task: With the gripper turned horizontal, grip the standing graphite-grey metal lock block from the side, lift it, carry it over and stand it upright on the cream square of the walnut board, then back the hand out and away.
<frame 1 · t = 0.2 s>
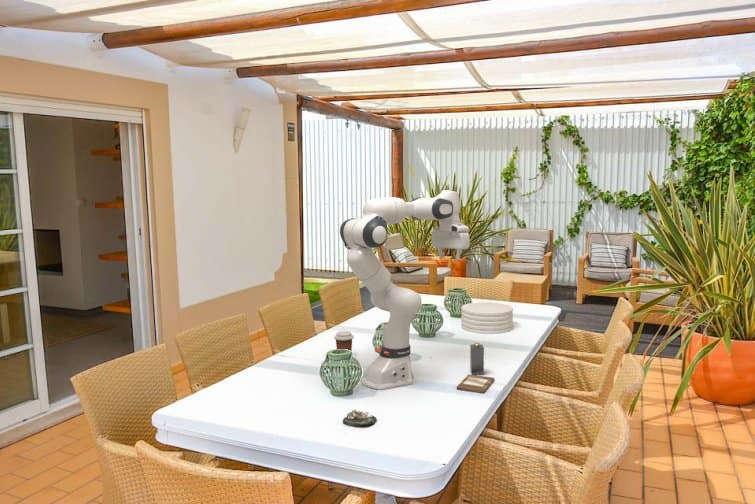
hand: (449, 258, 261), 48 cm above the table, tool pointing down, fingers open, 8 cm apart
lock block: (476, 373, 253), on the table
walnut board: (475, 385, 239), on the table
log: (360, 423, 205), on the table
coffee cup: (344, 358, 278), on the table
plate stack: (486, 328, 330), on the table
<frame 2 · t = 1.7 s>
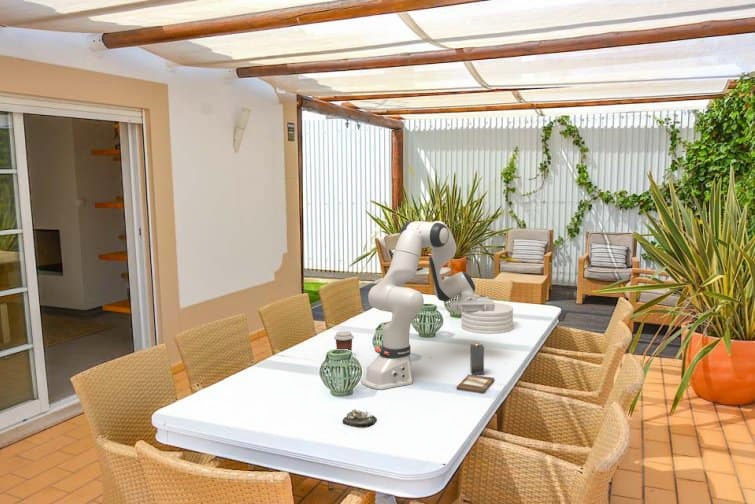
hand: (473, 309, 262), 25 cm above the table, tool horizontal, fingers open, 8 cm apart
nothing on the table moved.
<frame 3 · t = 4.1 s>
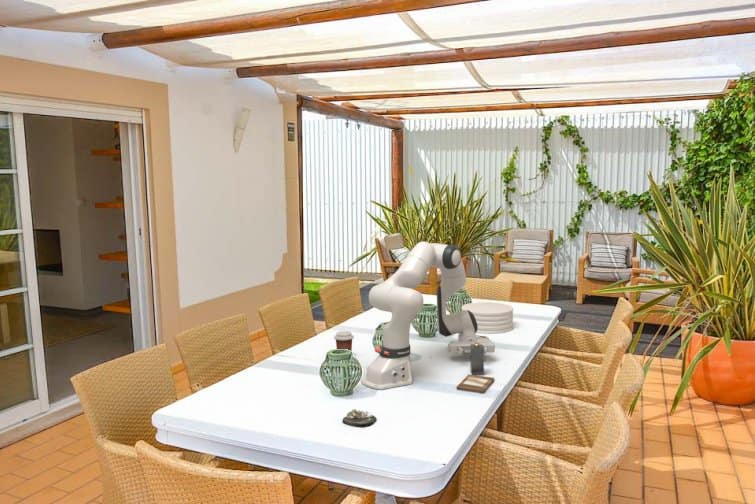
hand: (473, 352, 262), 6 cm above the table, tool horizontal, fingers open, 8 cm apart
nothing on the table moved.
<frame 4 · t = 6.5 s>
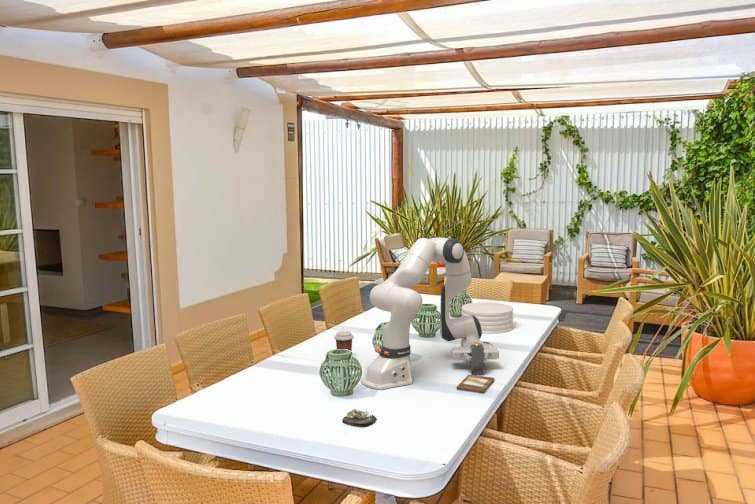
hand: (477, 359, 251), 7 cm above the table, tool horizontal, fingers closed on lock block, 5 cm apart
lock block: (476, 373, 253), on the table, touching gripper
everything else where it was.
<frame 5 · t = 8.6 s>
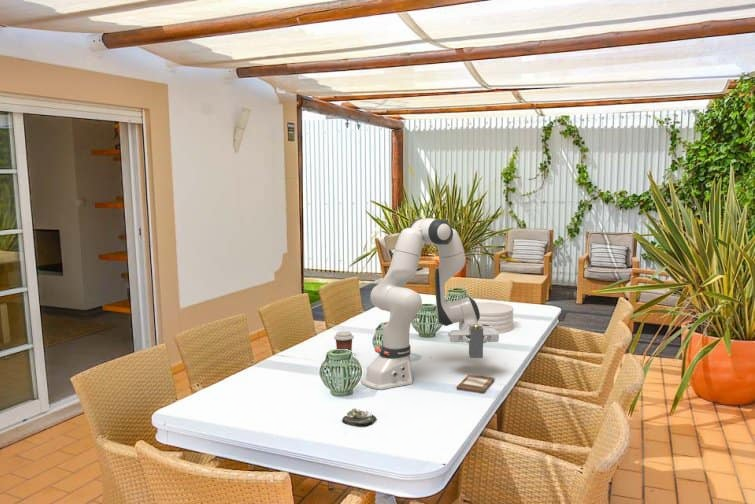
hand: (476, 341, 242), 17 cm above the table, tool horizontal, fingers closed on lock block, 5 cm apart
lock block: (475, 356, 244), point 10 cm above the table, touching gripper
everything else where it was.
when the fingers open (9 cm above the table, at t = 10.9 s): lock block drops 1 cm, resting on walnut board.
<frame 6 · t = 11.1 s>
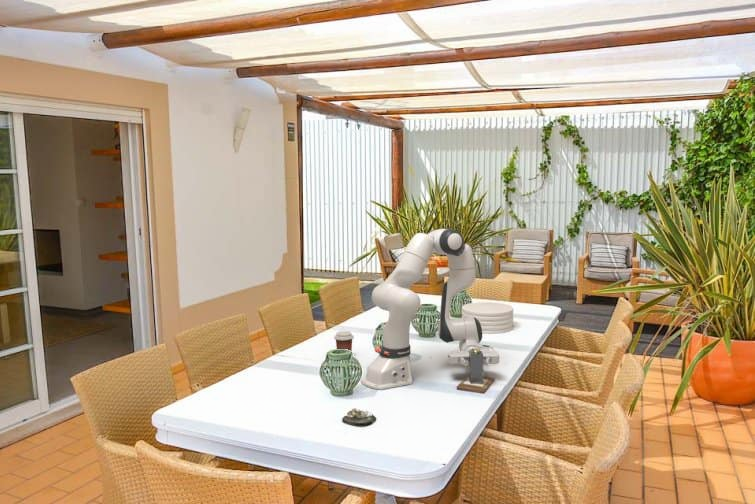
hand: (476, 363, 237), 9 cm above the table, tool horizontal, fingers open, 7 cm apart
lock block: (475, 381, 239), point 1 cm above the table, touching walnut board
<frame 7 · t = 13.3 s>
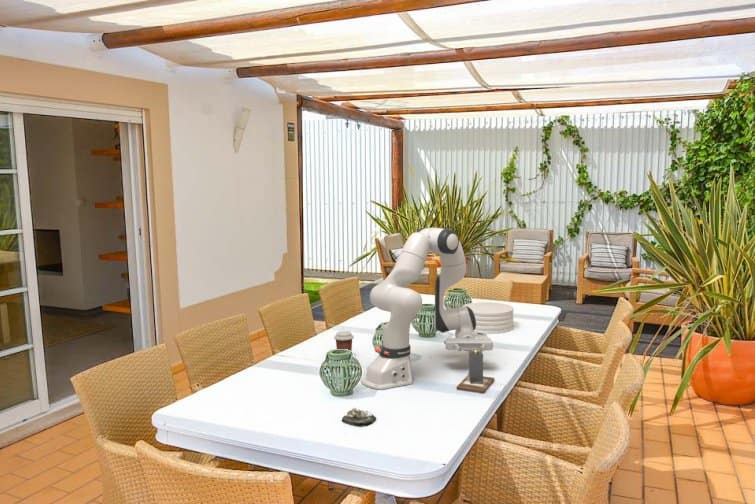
hand: (470, 349, 249), 11 cm above the table, tool horizontal, fingers open, 8 cm apart
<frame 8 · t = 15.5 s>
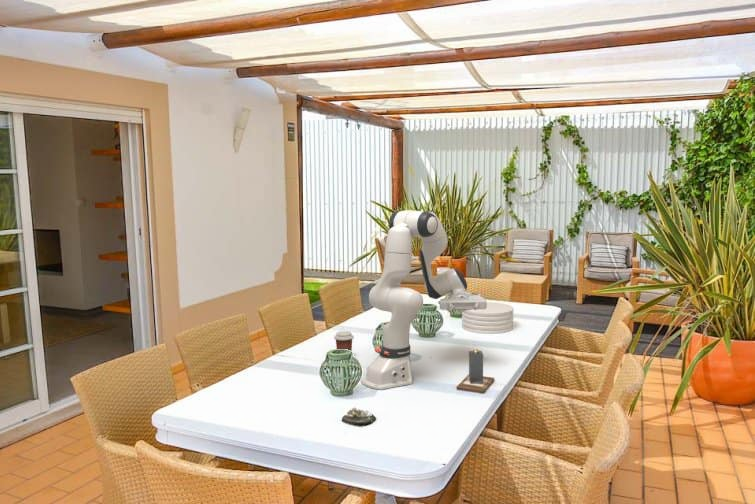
hand: (464, 307, 252), 28 cm above the table, tool horizontal, fingers open, 8 cm apart
at the end: lock block inside the target area on the walnut board (0.0 cm from its centre), point 1.4 cm above the walnut board's base; lock block tilted 0°; the gripper is holding nothing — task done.
